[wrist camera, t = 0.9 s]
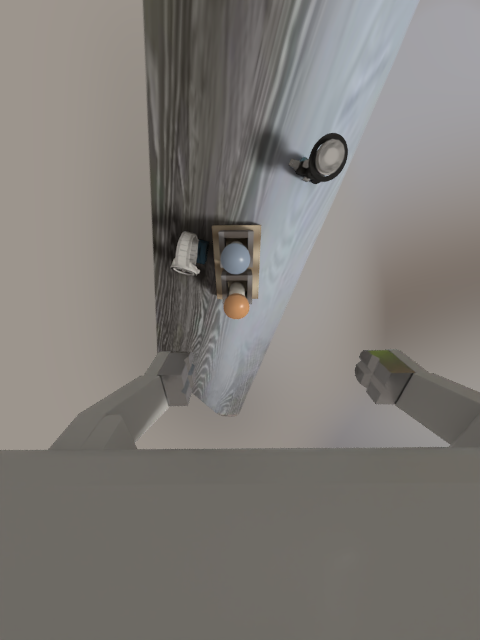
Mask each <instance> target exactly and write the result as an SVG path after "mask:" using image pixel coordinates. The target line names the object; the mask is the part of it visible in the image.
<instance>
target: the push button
mask: <svg viewBox="0 0 480 640" xmlns="http://www.w3.org/2000/svg"><path fill="white" fill-rule="evenodd" d="M321 144H322V145H321ZM320 145H321V147H320V148H319V150H317V149H318V147H319V146H320ZM347 155H348V149H347V144H346V141H345V140H344V138H343V137H342V136H341V135H339V134H336V133H330V134H327V135H325V136H323V137H322V138H321V139H320V140H319V141H318V142H317V143H316V144H315V146H314V147H313V149H312V151H311V154H310V157H309V159H307V158H305V157H303V158H302V159H301V160H300V161H299V160H297V161H296V160H294V159H291V160H290V163H289V166H291V167H293V168H294V169H295V170H296V171H295V172H296V174H298V175H303V176H305V178H303V179H302V180H303V181H306V182H308V181H310V179H311V180H312V183H314V184H318V183H320V182H326V181H329V180H332V179H334V178H335V177H336V176H337V175H338V174H339V173H340V172H341V171H342V169H343V168H344V166H345V163H346V160H347ZM292 162H293V164H292ZM325 175H329V176H326V177H325Z"/></svg>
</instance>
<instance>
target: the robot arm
mask: <svg viewBox="0 0 480 640" xmlns="http://www.w3.org/2000/svg"><path fill="white" fill-rule="evenodd" d="M359 358H360V359H361V361H360V362H359V363H358V364H356V368H355V376H356V378H357V380H358V381H359V383H360V384H361V385H363V386H364V387H366V388H367V389H366V392H367V393H368V395H369V396H370V397H371V399H372V400H373V401H374V402H375V404H396V406H397V407H398V408H400V409H401V410H403V411H404V412H406V413H407V414H408V415H410V416H411V417H413V418H414V419H415V420H417V421H418V422H419V423H421V424H422V425H424V426H425V427H426V428H428V429H429V430H431V431H432V432H433V433H435V434H436V435H438V436H439V437H441V438H442V439H443V440H445V441H446V442H448V443H449V444H450V446H449V447H417V448H416V447H412V448H411V447H410V448H409V447H405V448H404V447H403V448H280V449H279V448H265V449H137V447H136V445H135V442H136V441H137V440H138V439H139V438H140V437H141V436H142V435H143V434H144V433H145V431H146V430H147V429H149V428H150V426H151V425H152V424H153V423H154V422H155V421H156V420H157V419H158V418H159V417H160V416H161V415H162V414H163V413H164V412H165V410H167V409H168V407H169V406H187V405H188V404H189V400H190V397H191V387H193V386H194V383H195V377H196V369H195V365H194V364H193V360H194V357H193V353H192V352H173V351H171V352H159V353H158V354H157V356H156V357H155V359H154V360H153V362H152V363H151V365H150V367H149V368H148V370H147V371H146V373H145V375H144V376H139V377H138V378H136V379H134V380H133V381H131V382H130V383H128V384H126V385H125V386H123V387H121V388H120V389H118V390H117V391H115V392H113V393H112V394H110V395H108V396H107V397H105V398H104V399H102V400H100V401H99V402H97V403H96V404H94V405H92V406H91V407H89V408H88V409H86V410H84V411H83V412H81V413H79V414H78V416H77V417H76V418H75V419H74V420H73V421H72V422H71V424H70V425H69V426H68V427H67V428H66V429H65V431H64V432H63V433H62V434H61V435H60V436H59V438H58V439H57V440H56V441H55V442H54V443H53V445H52V446H51V447H50V448H49V449H48V450H0V640H480V392H477V391H475V390H473V389H470V388H468V387H465V386H463V385H461V384H458V383H456V382H453V381H451V380H449V379H446V378H444V377H441V376H439V375H436V374H434V373H429V372H428V371H426V370H425V369H424V368H422V367H421V366H420V365H419V364H417V363H416V362H415V361H413V360H412V359H411V358H410V357H408V356H407V355H406V354H404V353H403V352H402V351H400V350H397V349H388V350H363V351H362V352H361V354H360V356H359Z"/></svg>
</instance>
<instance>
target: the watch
mask: <svg viewBox="0 0 480 640" xmlns="http://www.w3.org/2000/svg"><path fill="white" fill-rule="evenodd" d="M208 247H209V242H208V241H204V240H200V239H198V237H197V235H196V234H193V233H190V232H186V231H184V232H183V233H182V234H181V236H180V238H179V241H178V244H177V249H176V250H177V251H176V257H175V258H174V259H173V262H172V265H171V269H173V270H174V271H177V272H179V273H182V274H186V275H191V276H196V275H197V273H198V274H199V273H200V270H199V269H197V267H196V266H195V265H196V263H200V264H205V262H206V260H207V254H208Z"/></svg>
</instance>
